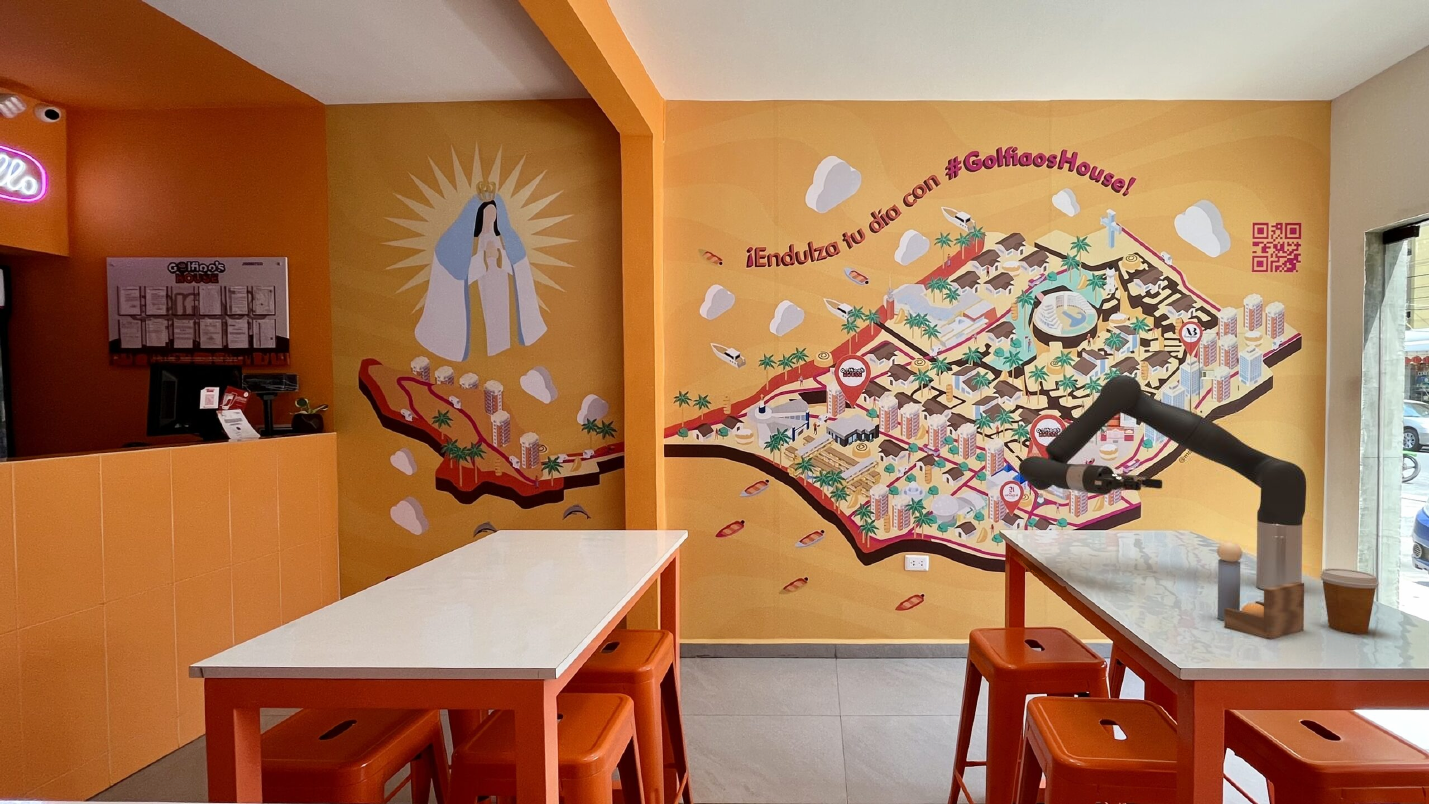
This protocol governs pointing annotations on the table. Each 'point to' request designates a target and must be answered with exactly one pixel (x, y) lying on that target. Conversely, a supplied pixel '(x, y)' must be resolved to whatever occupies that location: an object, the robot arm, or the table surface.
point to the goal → (1272, 613)
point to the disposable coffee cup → (1349, 599)
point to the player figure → (1228, 577)
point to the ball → (1254, 609)
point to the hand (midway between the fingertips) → (1150, 485)
